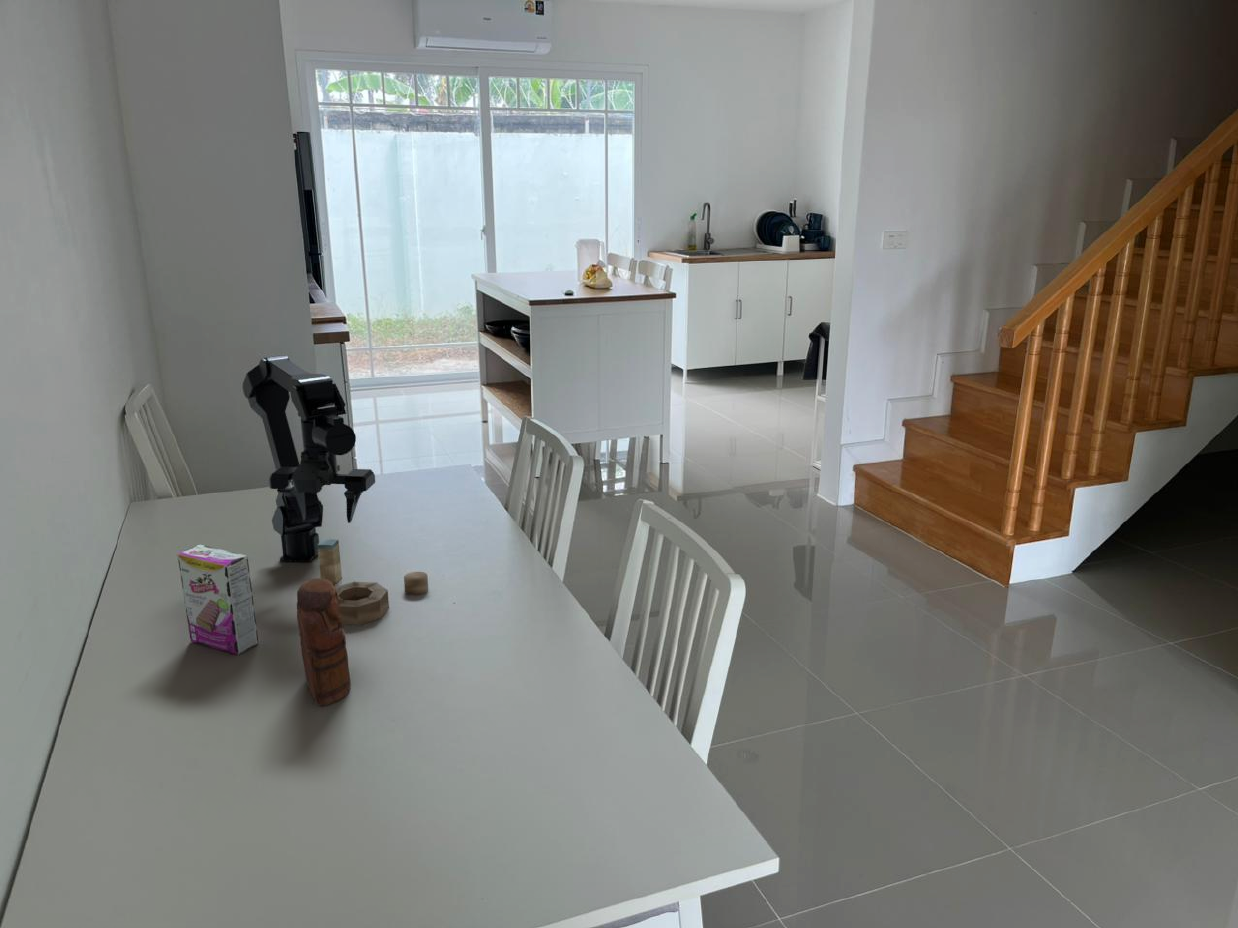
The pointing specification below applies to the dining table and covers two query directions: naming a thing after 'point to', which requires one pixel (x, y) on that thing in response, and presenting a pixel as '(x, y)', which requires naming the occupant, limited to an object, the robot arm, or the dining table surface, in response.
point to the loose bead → (416, 583)
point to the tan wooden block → (329, 560)
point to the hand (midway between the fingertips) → (326, 521)
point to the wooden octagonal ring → (362, 602)
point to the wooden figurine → (322, 641)
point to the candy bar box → (218, 598)
